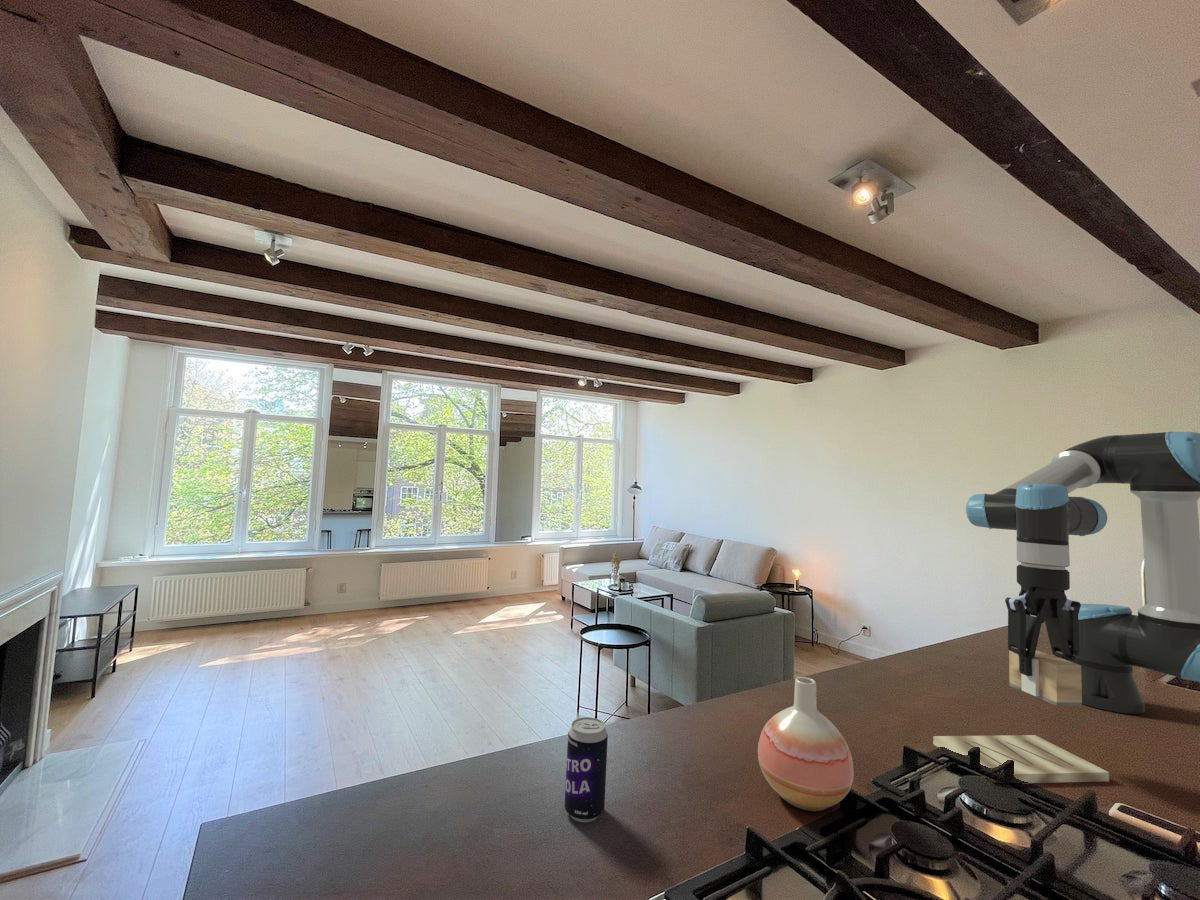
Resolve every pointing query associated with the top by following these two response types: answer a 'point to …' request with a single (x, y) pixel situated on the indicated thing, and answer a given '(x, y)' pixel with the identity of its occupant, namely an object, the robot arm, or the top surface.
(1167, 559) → the robot arm
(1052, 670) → the block
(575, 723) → the beverage can
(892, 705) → the top surface
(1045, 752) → the board
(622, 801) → the top surface
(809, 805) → the vase
